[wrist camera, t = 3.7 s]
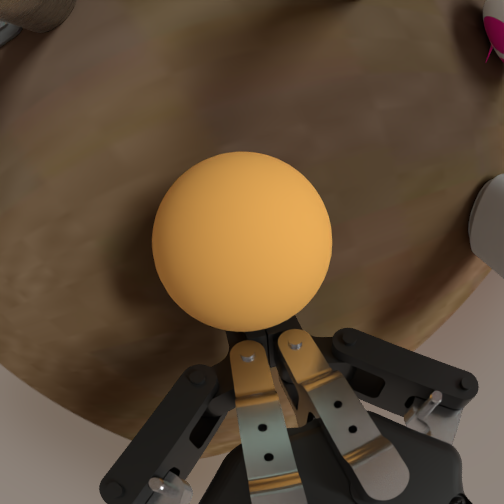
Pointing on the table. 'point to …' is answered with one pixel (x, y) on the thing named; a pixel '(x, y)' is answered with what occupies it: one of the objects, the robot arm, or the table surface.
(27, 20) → the post
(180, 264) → the ball
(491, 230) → the can
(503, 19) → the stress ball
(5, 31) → the calculator
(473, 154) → the table surface
